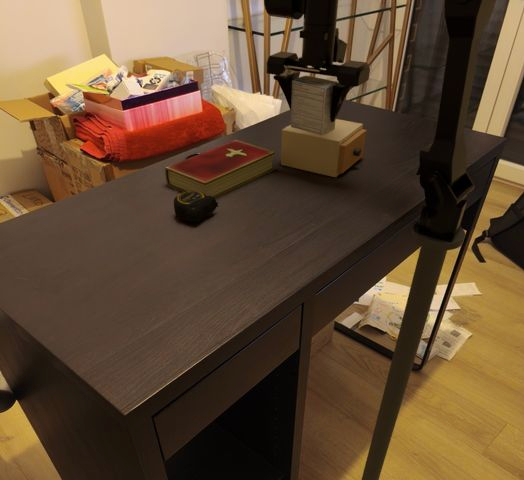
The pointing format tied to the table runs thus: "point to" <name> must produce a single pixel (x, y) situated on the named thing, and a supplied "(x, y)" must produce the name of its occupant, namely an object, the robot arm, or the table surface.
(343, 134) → the cabinet
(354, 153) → the drawer
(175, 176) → the hardcover book
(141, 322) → the table surface
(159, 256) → the table surface
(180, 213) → the tape measure
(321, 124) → the medicine box
